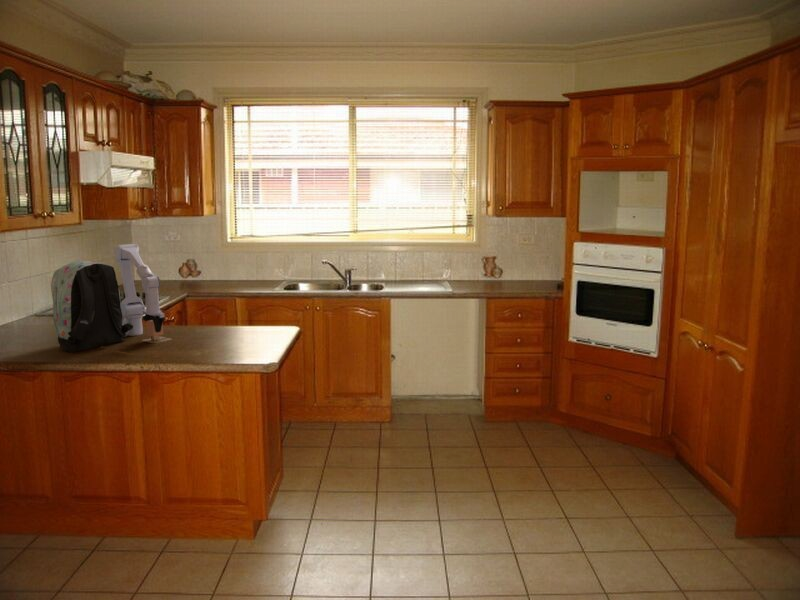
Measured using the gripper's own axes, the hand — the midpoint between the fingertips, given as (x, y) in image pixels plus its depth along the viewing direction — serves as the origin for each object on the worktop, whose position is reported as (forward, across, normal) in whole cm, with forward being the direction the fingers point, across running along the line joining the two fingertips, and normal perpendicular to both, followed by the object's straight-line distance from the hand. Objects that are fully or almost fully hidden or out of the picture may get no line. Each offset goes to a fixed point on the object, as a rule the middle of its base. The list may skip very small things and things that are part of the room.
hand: (154, 331), depth 305 cm
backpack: (+5, +19, +21) cm, 29 cm away
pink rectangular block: (+2, 0, 0) cm, 2 cm away
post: (+4, 0, 0) cm, 4 cm away
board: (+5, 0, -1) cm, 5 cm away
